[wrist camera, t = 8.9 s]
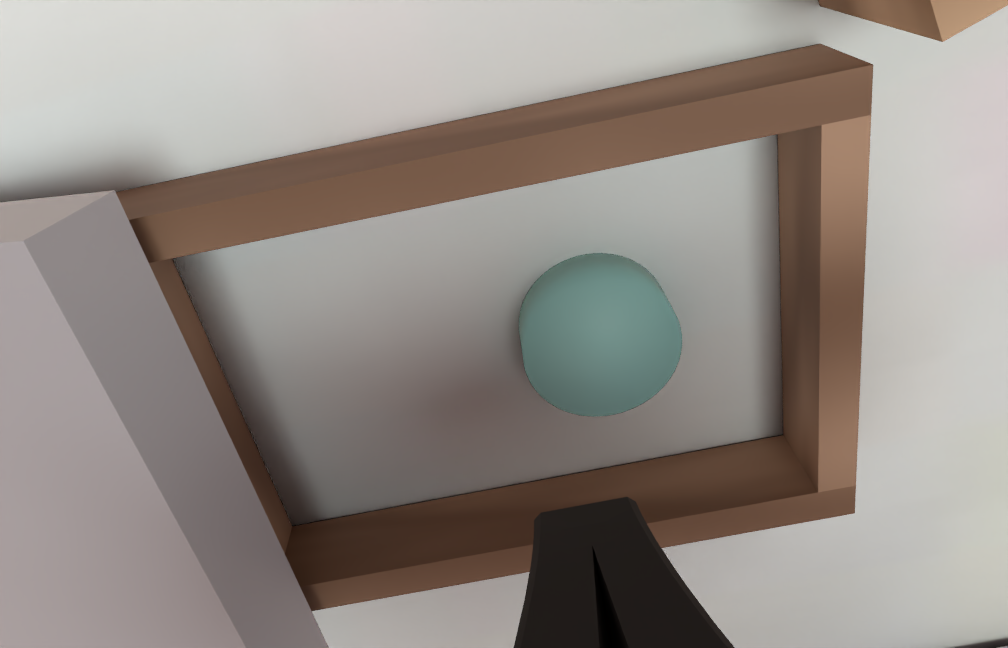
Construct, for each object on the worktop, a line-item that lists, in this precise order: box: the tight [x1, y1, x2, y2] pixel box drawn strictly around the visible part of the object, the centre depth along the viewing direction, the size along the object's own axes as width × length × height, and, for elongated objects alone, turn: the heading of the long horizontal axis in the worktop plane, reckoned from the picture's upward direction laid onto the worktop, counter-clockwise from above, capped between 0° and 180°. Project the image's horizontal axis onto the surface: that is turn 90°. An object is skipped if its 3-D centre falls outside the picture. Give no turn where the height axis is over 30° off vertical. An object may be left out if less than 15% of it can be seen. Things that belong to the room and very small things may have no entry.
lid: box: [0, 190, 328, 648], centre depth 15 cm, size 11×8×2 cm
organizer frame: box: [116, 44, 873, 611], centre depth 16 cm, size 10×14×2 cm
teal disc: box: [519, 253, 682, 417], centre depth 16 cm, size 3×3×1 cm
